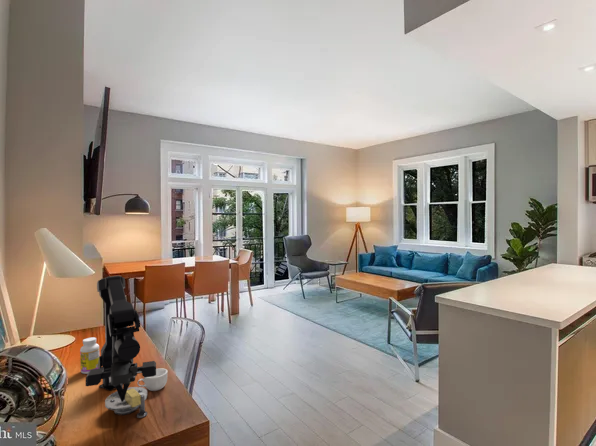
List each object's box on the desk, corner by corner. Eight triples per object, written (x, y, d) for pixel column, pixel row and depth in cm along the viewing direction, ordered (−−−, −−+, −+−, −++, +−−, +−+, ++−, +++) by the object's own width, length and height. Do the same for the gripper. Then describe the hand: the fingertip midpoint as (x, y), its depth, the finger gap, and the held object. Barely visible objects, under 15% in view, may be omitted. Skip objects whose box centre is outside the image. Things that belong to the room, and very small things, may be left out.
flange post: (109, 412, 106) (109, 404, 106) (128, 401, 113) (128, 393, 113) (124, 417, 103) (124, 409, 103) (143, 405, 110) (143, 398, 110)
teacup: (165, 380, 127) (165, 366, 127) (169, 389, 120) (169, 374, 120) (136, 388, 122) (136, 373, 122) (138, 397, 115) (138, 381, 115)
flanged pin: (134, 416, 104) (134, 397, 104) (142, 411, 106) (142, 392, 106) (141, 418, 102) (141, 399, 102) (149, 413, 105) (149, 394, 105)
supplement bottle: (78, 371, 137) (77, 339, 137) (96, 365, 142) (96, 335, 142) (83, 376, 132) (82, 343, 132) (102, 370, 137) (101, 338, 137)
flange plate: (100, 400, 108) (99, 387, 108) (139, 386, 117) (138, 374, 116) (114, 418, 98) (114, 404, 98) (156, 402, 106) (156, 388, 106)
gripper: (81, 364, 92) (81, 422, 92) (155, 354, 99) (155, 407, 99) (89, 350, 102) (89, 402, 102) (156, 342, 109) (156, 390, 109)
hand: (122, 401), depth 103 cm, fingers closed
